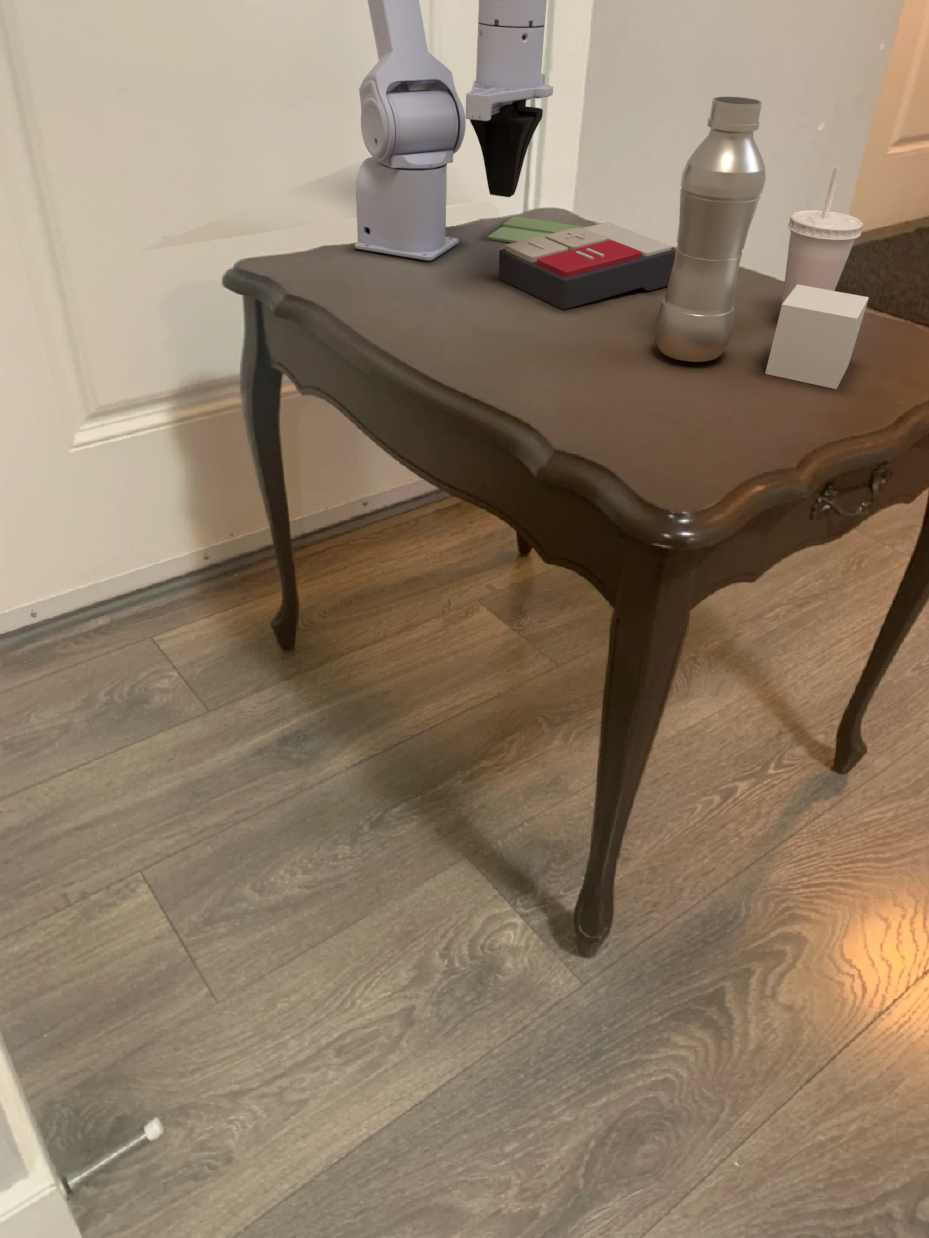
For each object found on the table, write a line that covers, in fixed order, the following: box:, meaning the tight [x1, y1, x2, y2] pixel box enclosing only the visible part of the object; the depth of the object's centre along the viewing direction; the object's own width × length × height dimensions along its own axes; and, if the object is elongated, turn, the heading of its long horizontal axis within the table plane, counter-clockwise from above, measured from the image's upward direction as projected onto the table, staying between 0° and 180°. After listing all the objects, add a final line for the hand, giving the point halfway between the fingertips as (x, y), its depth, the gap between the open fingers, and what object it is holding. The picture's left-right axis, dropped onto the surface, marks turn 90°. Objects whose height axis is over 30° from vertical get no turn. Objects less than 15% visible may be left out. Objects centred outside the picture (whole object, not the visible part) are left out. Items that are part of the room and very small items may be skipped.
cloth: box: [487, 215, 586, 244], centre depth 110 cm, size 14×9×1 cm, turn 67°
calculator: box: [498, 221, 676, 310], centre depth 96 cm, size 11×4×15 cm
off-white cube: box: [765, 284, 870, 390], centre depth 79 cm, size 6×6×6 cm
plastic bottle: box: [654, 96, 767, 363], centre depth 76 cm, size 6×7×20 cm
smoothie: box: [781, 166, 864, 305], centre depth 85 cm, size 6×6×14 cm
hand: (502, 194), depth 88 cm, fingers closed
